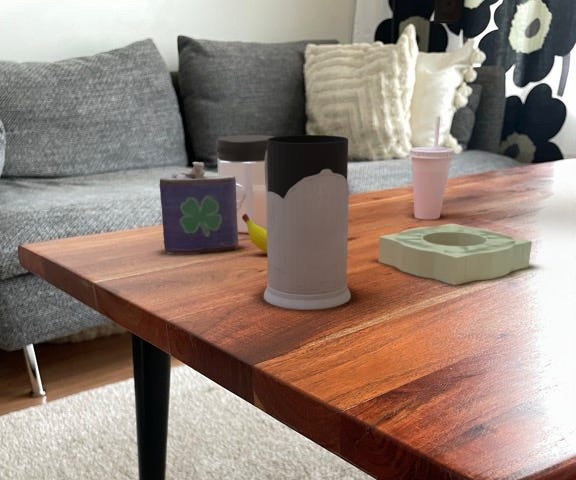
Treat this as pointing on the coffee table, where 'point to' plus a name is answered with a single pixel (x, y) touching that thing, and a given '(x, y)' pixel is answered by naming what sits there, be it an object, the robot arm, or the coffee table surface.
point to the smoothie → (430, 177)
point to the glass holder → (307, 221)
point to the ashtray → (454, 253)
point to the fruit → (256, 234)
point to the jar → (246, 175)
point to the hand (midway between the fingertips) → (446, 21)
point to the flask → (199, 212)
